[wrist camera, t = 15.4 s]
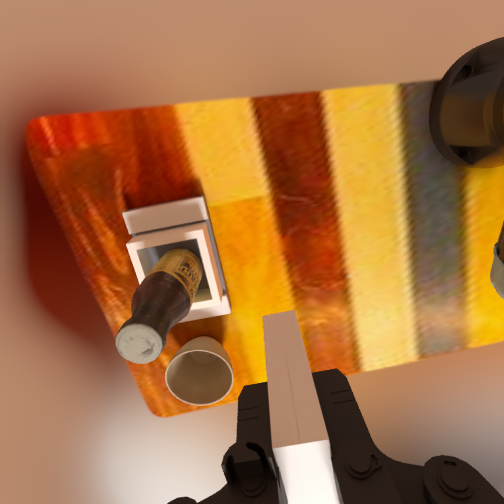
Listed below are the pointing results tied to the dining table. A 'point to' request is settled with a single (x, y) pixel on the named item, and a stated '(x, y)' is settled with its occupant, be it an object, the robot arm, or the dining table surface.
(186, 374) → the flower pot
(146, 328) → the sauce bottle
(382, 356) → the dining table surface
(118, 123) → the dining table surface
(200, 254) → the caddy
